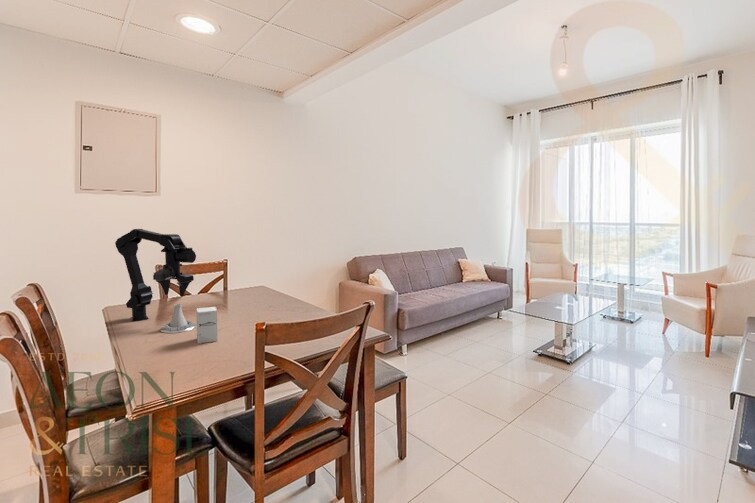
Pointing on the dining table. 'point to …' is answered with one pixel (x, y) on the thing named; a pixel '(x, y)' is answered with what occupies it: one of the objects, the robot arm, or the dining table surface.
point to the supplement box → (206, 324)
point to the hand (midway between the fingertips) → (174, 295)
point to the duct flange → (178, 328)
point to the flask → (178, 317)
